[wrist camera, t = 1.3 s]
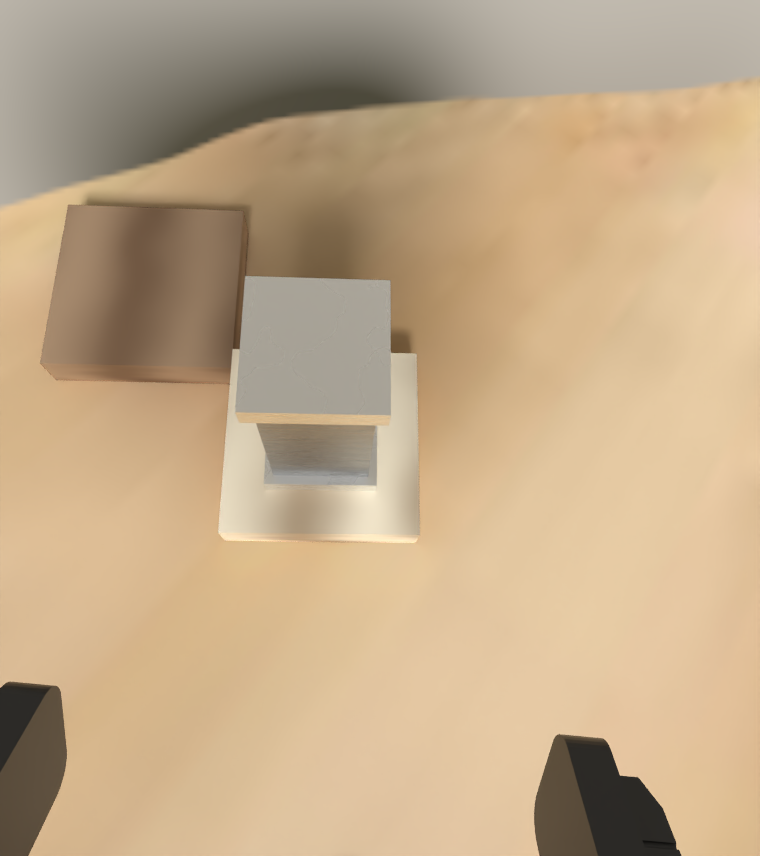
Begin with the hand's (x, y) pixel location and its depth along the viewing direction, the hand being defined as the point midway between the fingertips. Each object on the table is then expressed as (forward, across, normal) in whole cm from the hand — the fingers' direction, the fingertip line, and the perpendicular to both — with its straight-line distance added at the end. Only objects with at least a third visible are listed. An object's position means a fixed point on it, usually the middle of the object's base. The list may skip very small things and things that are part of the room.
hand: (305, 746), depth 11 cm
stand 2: (+23, +1, +6) cm, 24 cm away
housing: (+21, +1, +5) cm, 22 cm away
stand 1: (+28, +11, +1) cm, 30 cm away
